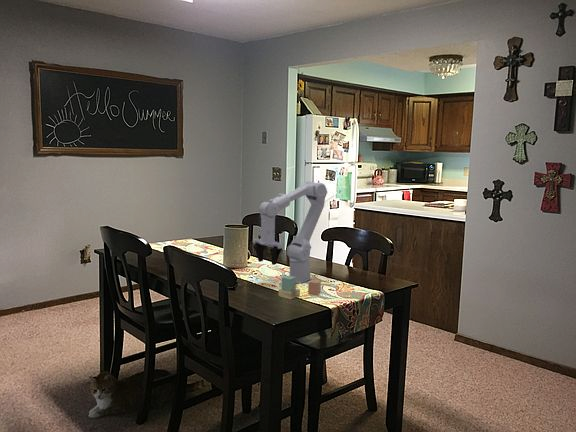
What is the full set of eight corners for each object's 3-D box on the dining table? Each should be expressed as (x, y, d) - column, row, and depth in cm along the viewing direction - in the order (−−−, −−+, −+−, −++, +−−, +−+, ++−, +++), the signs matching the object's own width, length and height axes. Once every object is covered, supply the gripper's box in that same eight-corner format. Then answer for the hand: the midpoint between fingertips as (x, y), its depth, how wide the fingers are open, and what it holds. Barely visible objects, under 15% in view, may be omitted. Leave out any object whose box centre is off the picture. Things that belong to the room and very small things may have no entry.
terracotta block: (311, 291, 209) (311, 279, 208) (320, 292, 207) (320, 280, 207) (308, 294, 205) (308, 282, 204) (317, 295, 204) (317, 283, 203)
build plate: (229, 284, 219) (229, 273, 218) (246, 285, 217) (246, 274, 217) (219, 292, 207) (219, 280, 206) (237, 293, 205) (237, 282, 205)
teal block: (287, 287, 204) (287, 275, 203) (295, 289, 201) (295, 277, 201) (281, 289, 201) (281, 277, 200) (289, 291, 198) (289, 279, 198)
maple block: (288, 293, 206) (288, 286, 206) (299, 296, 202) (300, 289, 202) (278, 296, 202) (278, 289, 201) (290, 300, 198) (290, 292, 197)
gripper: (248, 229, 213) (248, 261, 215) (274, 234, 204) (274, 267, 206) (260, 227, 219) (259, 258, 221) (286, 232, 210) (285, 264, 212)
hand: (267, 262), depth 214 cm, fingers open, 7 cm apart
